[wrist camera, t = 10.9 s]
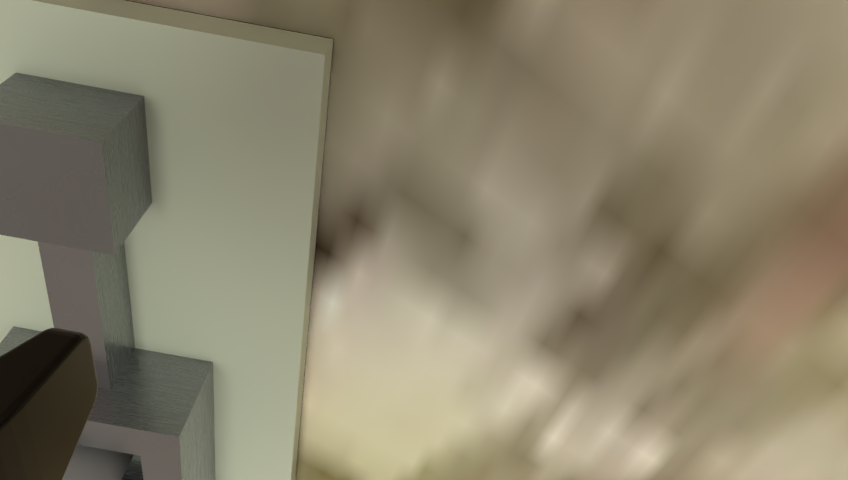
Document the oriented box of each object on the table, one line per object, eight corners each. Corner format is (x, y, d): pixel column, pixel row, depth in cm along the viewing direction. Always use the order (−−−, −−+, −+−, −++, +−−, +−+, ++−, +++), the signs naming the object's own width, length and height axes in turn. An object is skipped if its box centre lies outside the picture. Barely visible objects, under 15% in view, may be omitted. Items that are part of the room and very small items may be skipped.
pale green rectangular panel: (333, 39, 18) (282, 136, 14) (292, 515, 30) (258, 641, 26) (-157, -53, 18) (-348, 19, 14) (-6, 462, 30) (-87, 581, 26)
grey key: (207, 107, 19) (162, 168, 16) (215, 483, 28) (187, 558, 25) (-49, 60, 19) (-133, 115, 16) (43, 453, 28) (-3, 525, 25)
